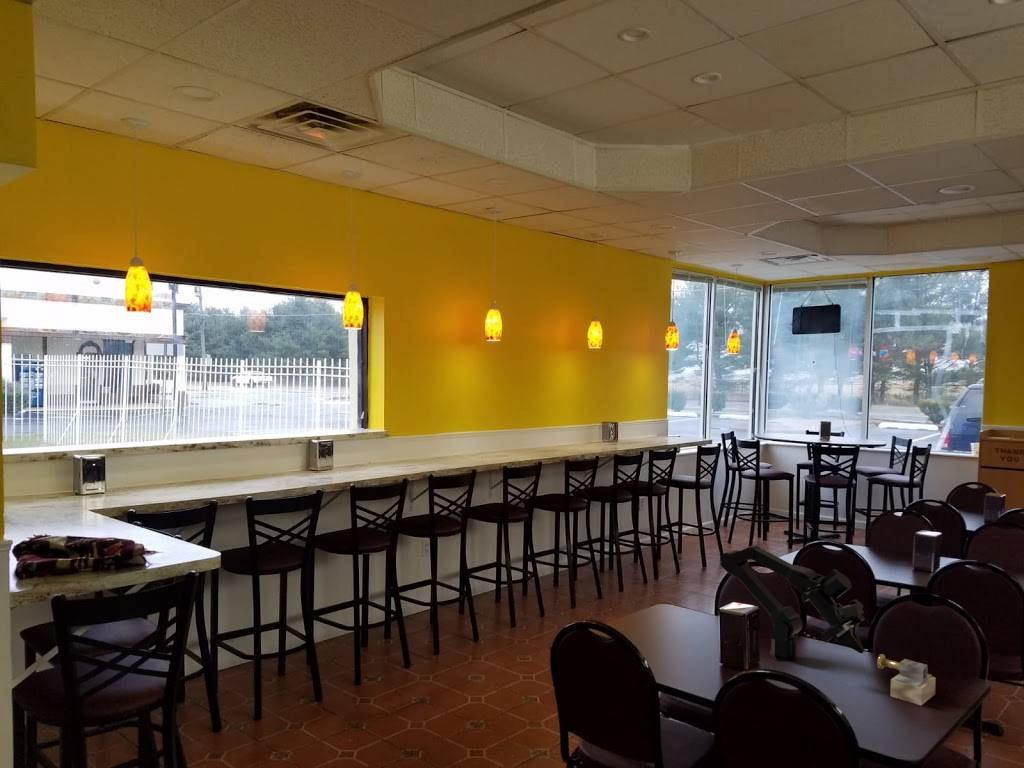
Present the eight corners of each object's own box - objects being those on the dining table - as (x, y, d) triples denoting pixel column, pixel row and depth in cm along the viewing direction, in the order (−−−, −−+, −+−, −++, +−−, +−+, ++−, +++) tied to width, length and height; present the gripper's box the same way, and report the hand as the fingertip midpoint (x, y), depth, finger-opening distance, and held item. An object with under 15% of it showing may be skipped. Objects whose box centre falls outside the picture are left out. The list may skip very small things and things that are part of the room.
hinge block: (890, 696, 213) (891, 664, 213) (905, 685, 221) (905, 654, 221) (921, 705, 208) (922, 673, 207) (935, 694, 215) (936, 662, 215)
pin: (876, 669, 219) (877, 655, 219) (882, 666, 222) (882, 652, 222) (910, 679, 213) (911, 665, 213) (915, 675, 216) (916, 661, 216)
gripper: (831, 598, 221) (870, 646, 214) (858, 586, 234) (895, 631, 226) (805, 618, 227) (841, 666, 219) (832, 605, 240) (868, 650, 232)
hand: (862, 652), depth 224 cm, fingers closed
